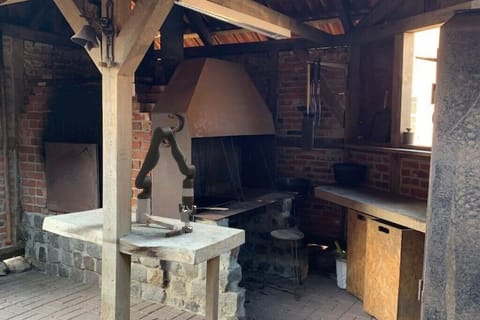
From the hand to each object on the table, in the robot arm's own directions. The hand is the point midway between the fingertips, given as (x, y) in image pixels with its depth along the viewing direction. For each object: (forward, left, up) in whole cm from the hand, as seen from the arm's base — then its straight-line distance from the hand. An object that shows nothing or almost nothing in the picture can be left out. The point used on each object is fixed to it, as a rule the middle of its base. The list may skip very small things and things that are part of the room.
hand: (187, 220), depth 290 cm
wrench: (-24, -2, -8) cm, 25 cm away
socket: (0, 0, -1) cm, 1 cm away
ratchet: (0, -7, -8) cm, 11 cm away
